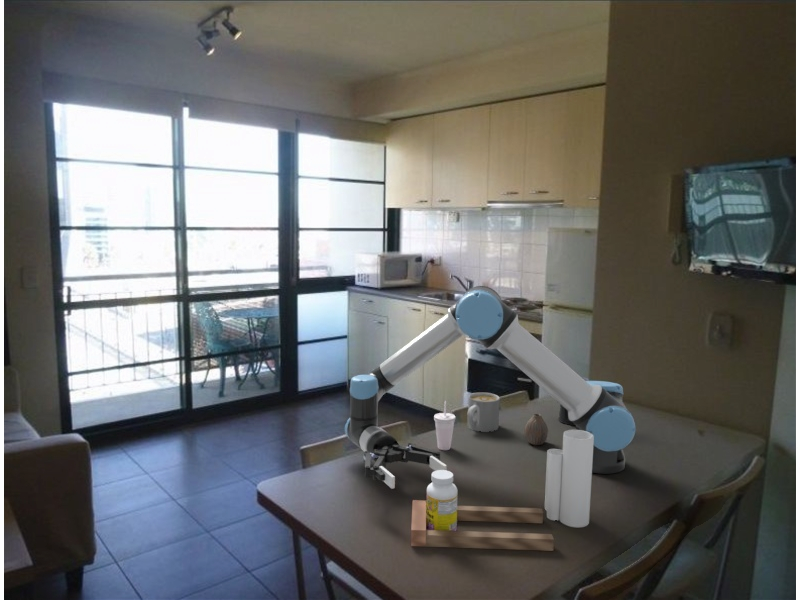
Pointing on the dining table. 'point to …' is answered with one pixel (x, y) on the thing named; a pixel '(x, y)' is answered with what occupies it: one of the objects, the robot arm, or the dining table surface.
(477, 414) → the coffee mug
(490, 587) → the dining table surface
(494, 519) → the channel
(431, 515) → the supplement bottle
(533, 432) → the vase
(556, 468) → the white joined tall cylinders
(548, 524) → the dining table surface
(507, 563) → the dining table surface
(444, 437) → the smoothie
